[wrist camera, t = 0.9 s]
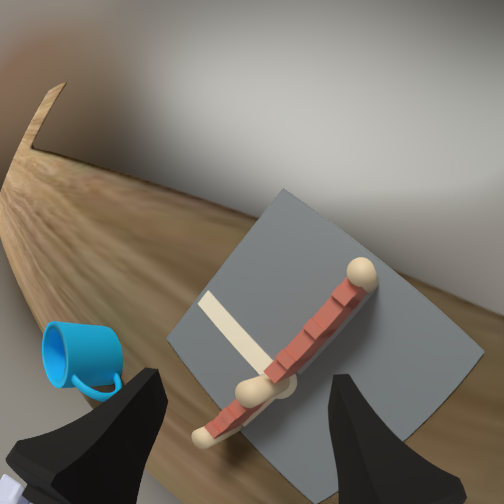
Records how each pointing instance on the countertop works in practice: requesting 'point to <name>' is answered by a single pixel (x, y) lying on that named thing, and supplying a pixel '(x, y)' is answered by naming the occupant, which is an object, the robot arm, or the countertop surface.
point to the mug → (82, 357)
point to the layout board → (330, 353)
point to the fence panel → (325, 320)
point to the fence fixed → (239, 409)
